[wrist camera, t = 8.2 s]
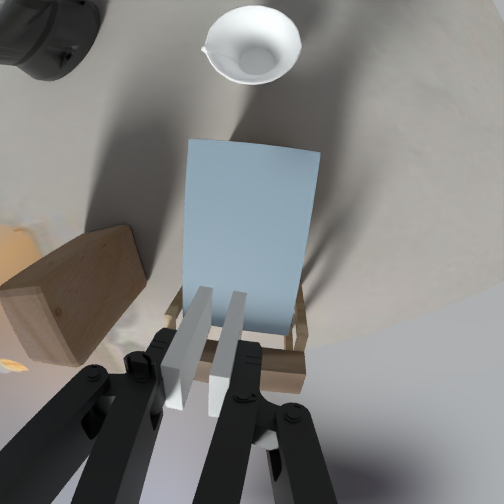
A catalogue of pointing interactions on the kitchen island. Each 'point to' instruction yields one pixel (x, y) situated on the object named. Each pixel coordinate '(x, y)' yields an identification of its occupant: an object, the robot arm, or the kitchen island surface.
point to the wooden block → (74, 295)
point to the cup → (253, 44)
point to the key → (264, 368)
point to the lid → (247, 228)
